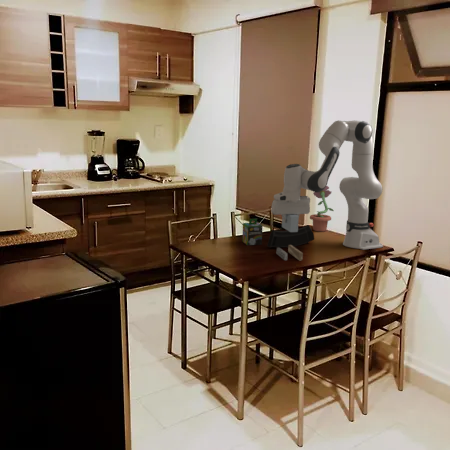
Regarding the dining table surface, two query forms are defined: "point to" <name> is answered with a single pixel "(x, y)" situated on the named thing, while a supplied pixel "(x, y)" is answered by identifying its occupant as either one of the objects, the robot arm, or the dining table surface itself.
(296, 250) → the shelf wall
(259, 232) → the chalk box
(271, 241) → the magazine
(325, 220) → the decorative flower
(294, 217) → the book
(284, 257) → the gray flat block
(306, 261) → the dining table surface
